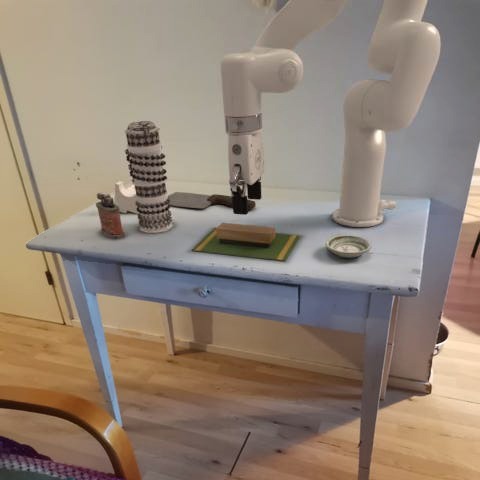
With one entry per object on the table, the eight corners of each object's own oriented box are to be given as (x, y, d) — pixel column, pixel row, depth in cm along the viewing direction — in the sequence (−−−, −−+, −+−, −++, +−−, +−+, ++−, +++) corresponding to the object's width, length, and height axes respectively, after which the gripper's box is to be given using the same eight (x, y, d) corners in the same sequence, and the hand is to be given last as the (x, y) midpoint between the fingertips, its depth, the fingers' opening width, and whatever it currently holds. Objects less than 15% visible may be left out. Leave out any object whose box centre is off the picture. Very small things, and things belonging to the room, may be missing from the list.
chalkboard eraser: (223, 236, 108) (222, 222, 106) (275, 242, 104) (275, 227, 102) (217, 243, 105) (216, 228, 103) (270, 248, 101) (270, 233, 99)
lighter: (127, 236, 112) (120, 196, 107) (115, 240, 110) (107, 199, 105) (110, 228, 117) (102, 190, 112) (98, 232, 115) (90, 193, 110)
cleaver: (259, 205, 127) (259, 198, 126) (244, 216, 120) (243, 209, 118) (174, 195, 139) (173, 188, 138) (155, 205, 132) (153, 197, 131)
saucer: (376, 261, 94) (377, 250, 93) (331, 264, 94) (332, 254, 93) (361, 243, 103) (363, 233, 101) (320, 246, 102) (320, 236, 101)
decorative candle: (134, 224, 119) (116, 122, 105) (168, 218, 122) (154, 118, 108) (143, 236, 112) (124, 128, 98) (178, 229, 115) (165, 123, 101)
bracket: (137, 216, 126) (140, 191, 122) (114, 209, 127) (115, 183, 122) (154, 201, 137) (157, 177, 132) (132, 195, 137) (134, 171, 133)
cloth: (300, 236, 107) (300, 235, 107) (285, 261, 96) (285, 260, 96) (214, 228, 114) (214, 227, 114) (191, 251, 103) (191, 249, 103)
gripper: (247, 133, 83) (251, 221, 92) (273, 115, 96) (274, 194, 106) (209, 133, 85) (218, 219, 95) (240, 116, 99) (244, 193, 108)
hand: (247, 206), depth 100 cm, fingers open, 9 cm apart
